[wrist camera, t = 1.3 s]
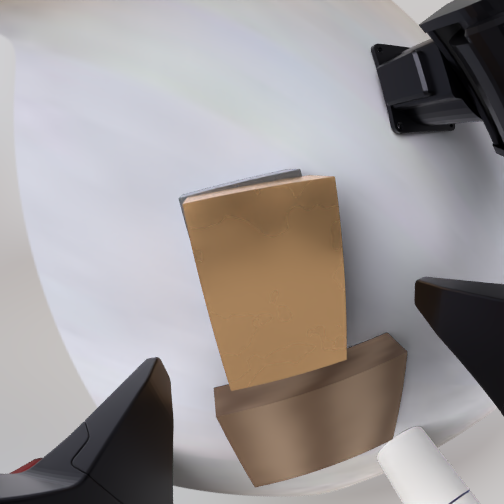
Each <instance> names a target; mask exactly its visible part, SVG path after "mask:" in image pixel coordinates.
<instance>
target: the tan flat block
mask: <svg viewBox="0 0 504 504" xmlns="http://www.w3.org/2000/svg"><path fill="white" fill-rule="evenodd" d="M182 205H183V210H184V214H185V219H186V224H187V228H188V233H189V237H190V241H191V246H192V250H193V254H194V258H195V263H196V267H197V271H198V275H199V279H200V283H201V287H202V291H203V295H204V298H205V302H206V306H207V310H208V313H209V317H210V321H211V324H212V328H213V332H214V335H215V339H216V342H217V346H218V349H219V353H220V356H221V359H222V363H223V366H224V369H225V373H226V376H227V379H228V383H229V386H230V389H231V391H234V390H238V389H243V388H248V387H252V386H256V385H261V384H265V383H269V382H273V381H277V380H281V379H285V378H288V377H292V376H296V375H299V374H303V373H306V372H309V371H313V370H316V369H319V368H322V367H326V366H329V365H332V364H335V363H338V362H341V361H344V360H347V330H346V295H345V276H344V260H343V247H342V235H341V225H340V215H339V206H338V197H337V189H336V182H335V177H334V176H314V175H308V176H301V177H294V178H288V179H282V180H276V181H270V182H264V183H258V184H253V185H247V186H242V187H237V188H231V189H226V190H221V191H216V192H211V193H206V194H202V195H197V196H192V197H188V198H187V199H186V200H185V201H184V202H183V204H182Z"/></svg>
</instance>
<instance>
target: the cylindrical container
mask: <svg viewBox="0 0 504 504" xmlns="http://www.w3.org/2000/svg"><path fill="white" fill-rule="evenodd" d="M377 461H378V463H379V464H380V466H381V468H382V469H383V471H384V473H385V474H386V476H387V478H388V479H389V481H390V483H391V484H392V486H393V488H394V490H395V491H396V493H397V495H398V496H399V498H400V500H401V501H402V503H403V504H480V503H479V501H478V500H477V499H476V497H475V496H474V495H473V493H472V492H471V491H470V489H469V488H468V487H467V485H466V484H465V483H464V481H463V480H462V479H461V477H460V476H459V475H458V474H457V472H456V471H455V470H454V469H453V467H452V466H451V464H450V463H449V462H448V461H447V460H446V458H445V457H444V456H443V454H442V453H441V452H440V450H439V449H438V448H437V446H436V445H435V444H434V442H433V441H432V440H431V439H430V437H429V436H428V435H427V434H426V432H425V431H424V430H423V428H422V427H413V428H410V429H408V430H406V431H404V432H402V433H400V434H399V435H397V436H396V437H394V438H393V439H392V440H390V441H389V442H388V443H387V444H386V445H385V446H384V447H383V448H382V449H381V450H380V451H379V453H378V455H377ZM469 491H470V492H469Z"/></svg>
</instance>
